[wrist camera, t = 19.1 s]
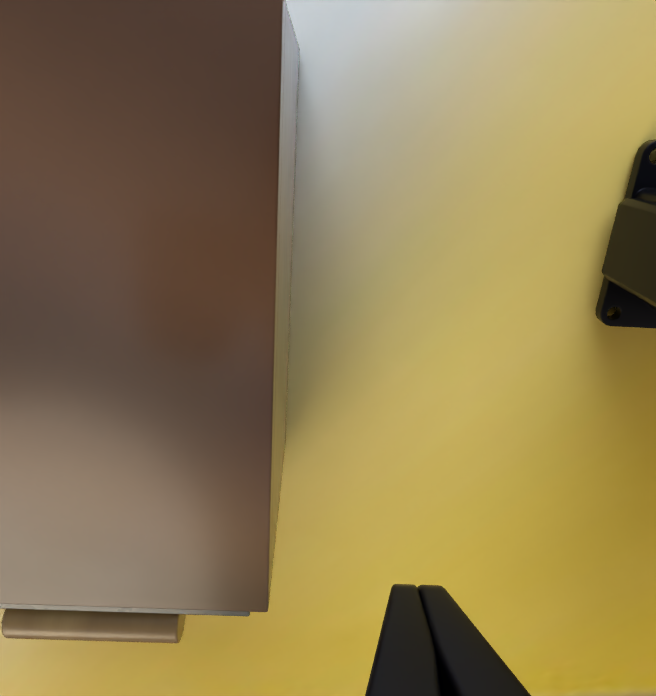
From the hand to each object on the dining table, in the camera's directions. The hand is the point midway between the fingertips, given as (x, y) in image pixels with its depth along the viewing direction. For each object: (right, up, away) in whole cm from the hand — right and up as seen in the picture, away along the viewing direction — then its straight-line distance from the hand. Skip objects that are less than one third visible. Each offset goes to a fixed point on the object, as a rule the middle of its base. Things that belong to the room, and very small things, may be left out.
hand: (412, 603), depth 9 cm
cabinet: (-9, +7, +11) cm, 16 cm away
